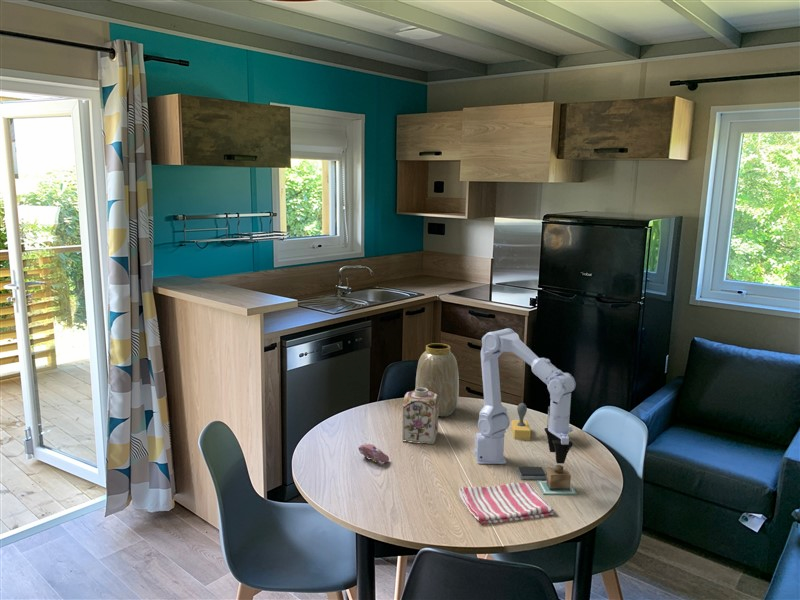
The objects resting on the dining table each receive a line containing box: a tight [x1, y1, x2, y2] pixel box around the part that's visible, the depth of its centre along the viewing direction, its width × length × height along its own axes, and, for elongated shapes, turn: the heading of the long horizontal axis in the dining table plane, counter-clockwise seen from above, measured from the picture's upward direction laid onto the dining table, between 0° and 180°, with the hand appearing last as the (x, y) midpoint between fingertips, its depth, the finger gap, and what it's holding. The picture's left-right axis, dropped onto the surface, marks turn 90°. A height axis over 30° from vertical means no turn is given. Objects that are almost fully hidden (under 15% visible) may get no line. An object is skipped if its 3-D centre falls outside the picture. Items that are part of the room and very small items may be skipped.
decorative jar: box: [401, 387, 439, 445], centre depth 219 cm, size 12×12×18 cm
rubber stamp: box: [510, 402, 532, 441], centre depth 224 cm, size 10×6×12 cm, turn 176°
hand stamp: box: [546, 464, 572, 491], centre depth 184 cm, size 6×4×7 cm, turn 91°
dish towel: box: [458, 482, 556, 525], centre depth 174 cm, size 17×23×4 cm
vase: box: [415, 342, 460, 417], centre depth 244 cm, size 17×17×27 cm
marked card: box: [536, 480, 578, 496], centre depth 184 cm, size 10×8×1 cm
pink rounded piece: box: [358, 442, 390, 463], centre depth 201 cm, size 10×5×7 cm, turn 48°
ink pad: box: [516, 466, 547, 481], centre depth 192 cm, size 8×6×2 cm
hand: (556, 457), depth 184 cm, fingers open, 7 cm apart
